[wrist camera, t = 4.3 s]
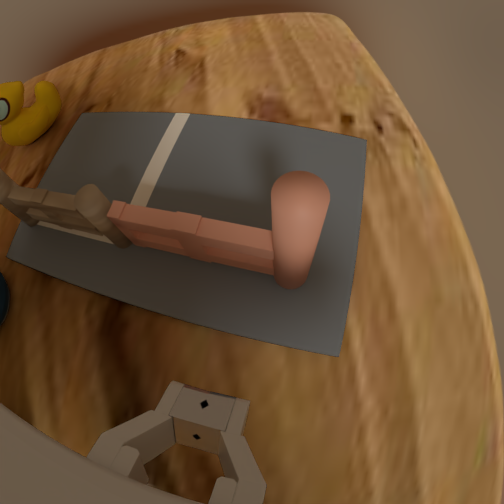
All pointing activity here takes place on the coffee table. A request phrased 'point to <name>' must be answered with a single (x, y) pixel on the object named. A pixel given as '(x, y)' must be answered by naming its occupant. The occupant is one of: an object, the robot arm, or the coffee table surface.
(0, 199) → the fence fixed
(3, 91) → the duckling
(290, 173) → the pink fence panel
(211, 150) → the board
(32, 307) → the coffee table surface
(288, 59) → the coffee table surface
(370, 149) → the coffee table surface
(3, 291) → the soda can
